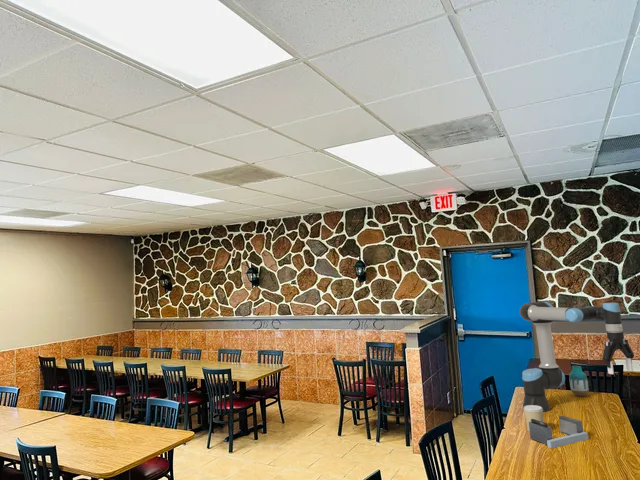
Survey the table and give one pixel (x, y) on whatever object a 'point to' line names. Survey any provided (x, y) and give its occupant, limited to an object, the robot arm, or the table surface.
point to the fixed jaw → (570, 425)
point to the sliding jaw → (540, 431)
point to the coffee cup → (533, 413)
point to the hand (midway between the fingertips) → (620, 372)
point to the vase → (578, 381)
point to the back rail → (567, 440)
